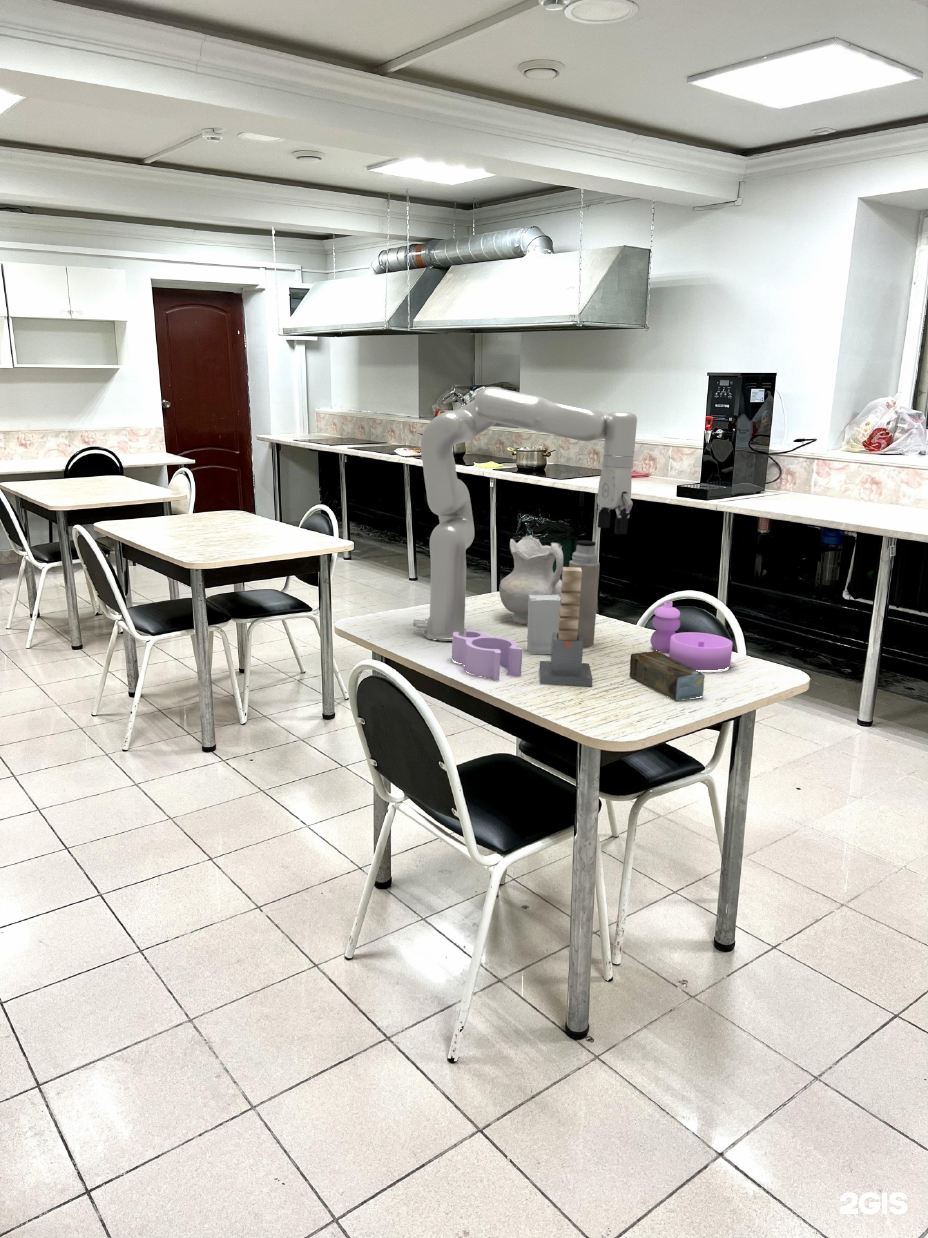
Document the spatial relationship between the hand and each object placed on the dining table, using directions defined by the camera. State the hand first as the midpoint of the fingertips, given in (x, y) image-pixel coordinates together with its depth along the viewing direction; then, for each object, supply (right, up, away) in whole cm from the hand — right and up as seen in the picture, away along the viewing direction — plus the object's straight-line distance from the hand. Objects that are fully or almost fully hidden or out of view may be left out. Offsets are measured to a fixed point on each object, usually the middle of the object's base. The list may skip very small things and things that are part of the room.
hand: (611, 530), depth 232 cm
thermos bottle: (-7, -29, +15) cm, 34 cm away
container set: (+20, -33, +5) cm, 39 cm away
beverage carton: (+9, -39, -19) cm, 44 cm away
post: (-14, -34, -16) cm, 40 cm away
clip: (-33, -35, -9) cm, 49 cm away
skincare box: (-17, -31, +6) cm, 36 cm away
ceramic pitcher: (-17, -23, +37) cm, 47 cm away
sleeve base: (-14, -36, -15) cm, 42 cm away
